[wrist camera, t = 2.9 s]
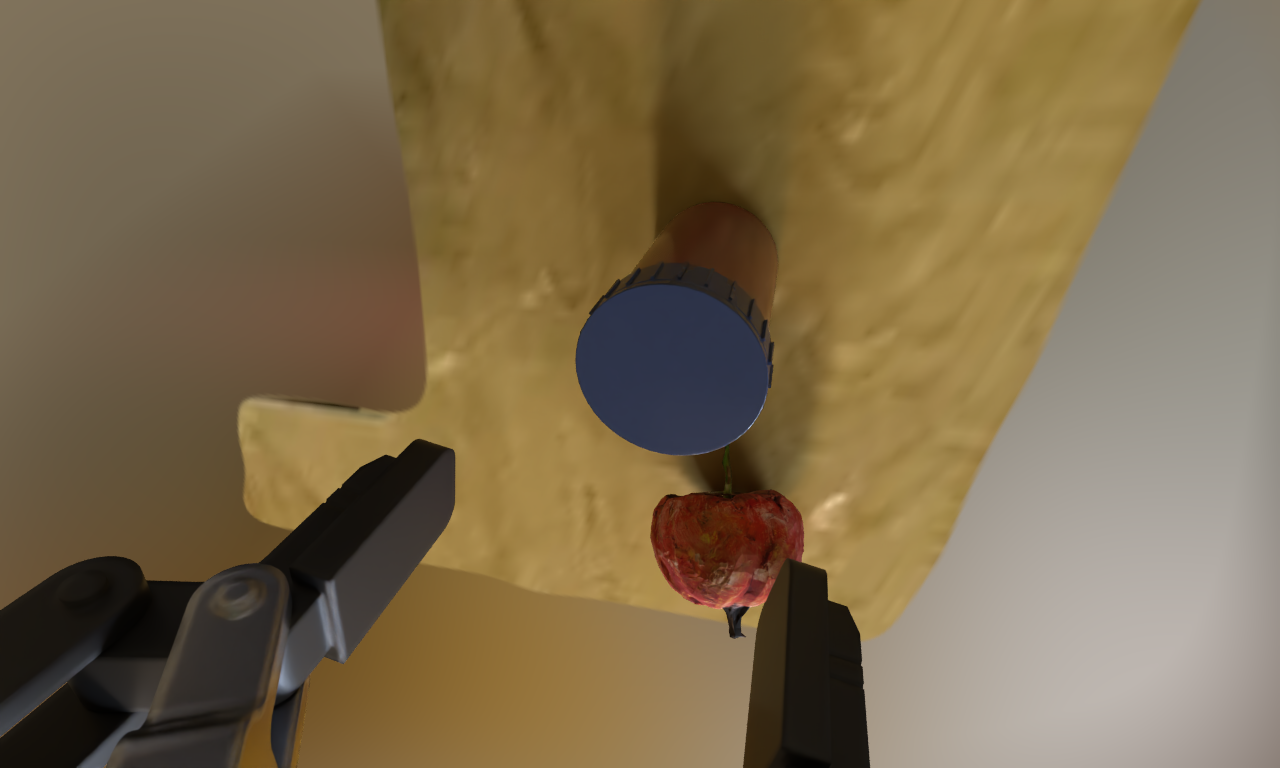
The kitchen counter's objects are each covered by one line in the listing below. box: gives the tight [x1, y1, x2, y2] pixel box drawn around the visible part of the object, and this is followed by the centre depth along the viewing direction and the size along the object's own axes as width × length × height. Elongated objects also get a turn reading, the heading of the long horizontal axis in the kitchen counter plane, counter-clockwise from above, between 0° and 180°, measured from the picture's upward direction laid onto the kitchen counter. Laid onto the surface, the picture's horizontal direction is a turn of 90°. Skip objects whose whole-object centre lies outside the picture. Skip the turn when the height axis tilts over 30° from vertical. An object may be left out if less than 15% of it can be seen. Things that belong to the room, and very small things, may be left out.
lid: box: [576, 261, 774, 456], centre depth 18 cm, size 6×6×2 cm
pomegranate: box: [650, 444, 804, 639], centre depth 29 cm, size 7×7×10 cm
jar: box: [630, 202, 778, 329], centre depth 22 cm, size 5×5×10 cm
